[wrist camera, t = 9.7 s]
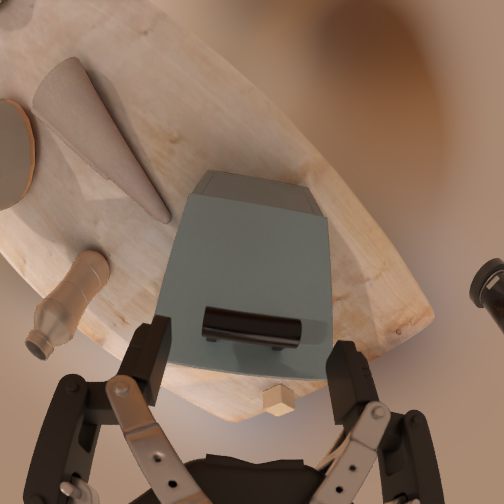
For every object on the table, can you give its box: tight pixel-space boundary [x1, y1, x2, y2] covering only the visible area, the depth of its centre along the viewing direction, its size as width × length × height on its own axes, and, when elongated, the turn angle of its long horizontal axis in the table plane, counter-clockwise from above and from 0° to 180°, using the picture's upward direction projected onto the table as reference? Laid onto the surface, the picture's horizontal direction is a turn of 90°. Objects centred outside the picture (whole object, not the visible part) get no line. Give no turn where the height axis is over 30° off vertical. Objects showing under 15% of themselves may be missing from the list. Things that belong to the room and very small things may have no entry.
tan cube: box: [263, 384, 295, 417], centre depth 56 cm, size 5×5×5 cm
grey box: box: [192, 170, 324, 217], centre depth 34 cm, size 14×13×10 cm
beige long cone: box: [31, 57, 171, 224], centre depth 30 cm, size 8×9×26 cm
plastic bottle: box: [25, 250, 110, 361], centre depth 33 cm, size 6×7×20 cm
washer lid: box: [154, 193, 333, 381], centre depth 20 cm, size 15×13×5 cm
